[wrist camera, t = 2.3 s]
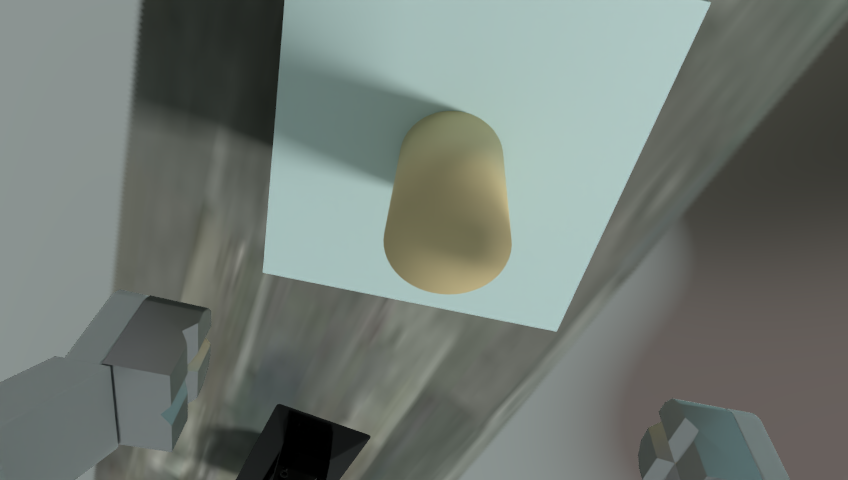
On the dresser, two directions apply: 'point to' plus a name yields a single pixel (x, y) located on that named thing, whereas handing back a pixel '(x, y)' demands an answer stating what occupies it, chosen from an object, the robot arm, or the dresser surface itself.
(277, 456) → the black stepped block
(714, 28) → the dresser surface
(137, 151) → the dresser surface
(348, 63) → the lid
